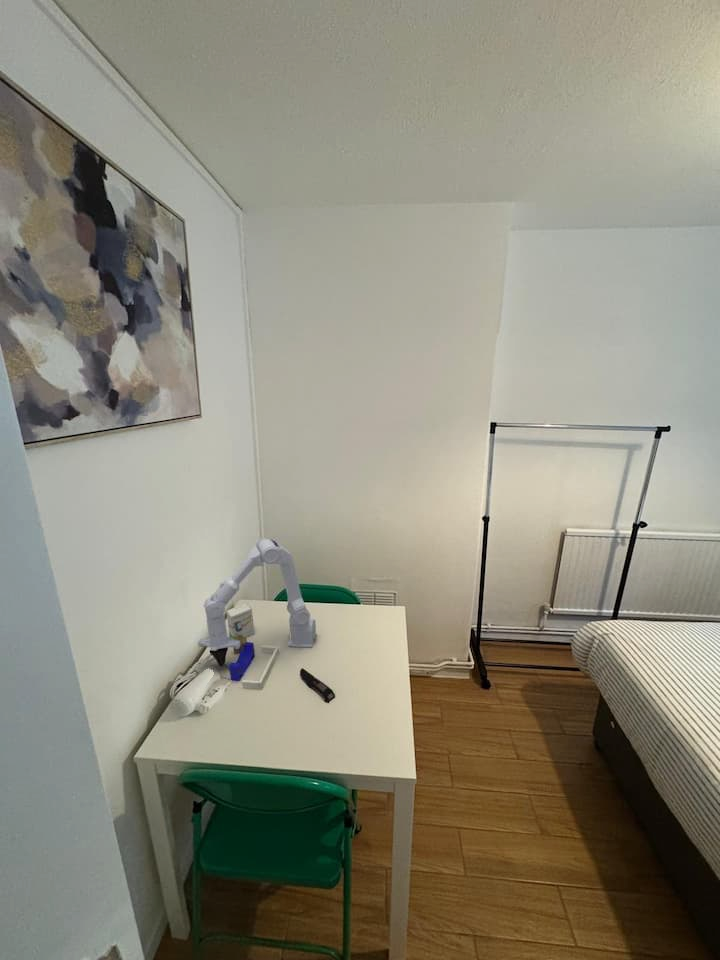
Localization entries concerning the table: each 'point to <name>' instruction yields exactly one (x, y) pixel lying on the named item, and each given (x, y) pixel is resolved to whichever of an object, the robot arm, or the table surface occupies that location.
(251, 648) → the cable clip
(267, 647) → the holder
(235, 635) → the ink box
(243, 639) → the walnut block
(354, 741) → the table surface
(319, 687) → the electric trimmer
